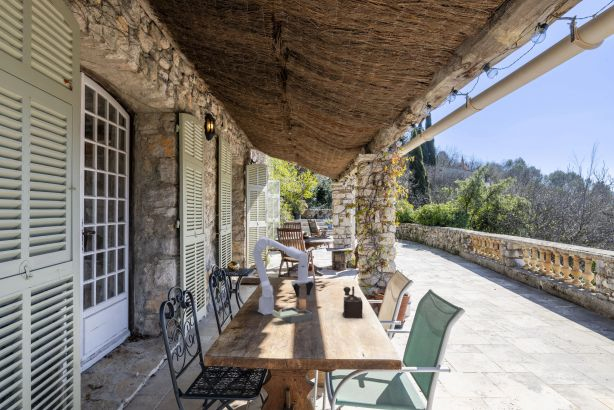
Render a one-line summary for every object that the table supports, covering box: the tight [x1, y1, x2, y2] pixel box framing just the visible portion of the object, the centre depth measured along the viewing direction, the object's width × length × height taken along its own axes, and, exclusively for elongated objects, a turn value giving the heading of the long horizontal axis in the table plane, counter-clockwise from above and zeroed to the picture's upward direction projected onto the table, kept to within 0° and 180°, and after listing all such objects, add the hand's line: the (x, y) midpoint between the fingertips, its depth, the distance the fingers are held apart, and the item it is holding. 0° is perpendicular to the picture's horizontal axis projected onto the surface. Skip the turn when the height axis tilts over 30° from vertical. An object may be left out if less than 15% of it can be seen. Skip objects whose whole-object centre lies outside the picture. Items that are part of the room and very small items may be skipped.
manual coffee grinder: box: [342, 286, 364, 319], centre depth 199 cm, size 16×11×18 cm
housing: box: [280, 306, 314, 324], centre depth 196 cm, size 16×14×4 cm
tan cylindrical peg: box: [298, 298, 307, 311], centre depth 208 cm, size 4×4×7 cm
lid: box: [272, 309, 298, 319], centre depth 188 cm, size 7×12×3 cm, turn 124°
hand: (302, 295), depth 208 cm, fingers open, 7 cm apart
